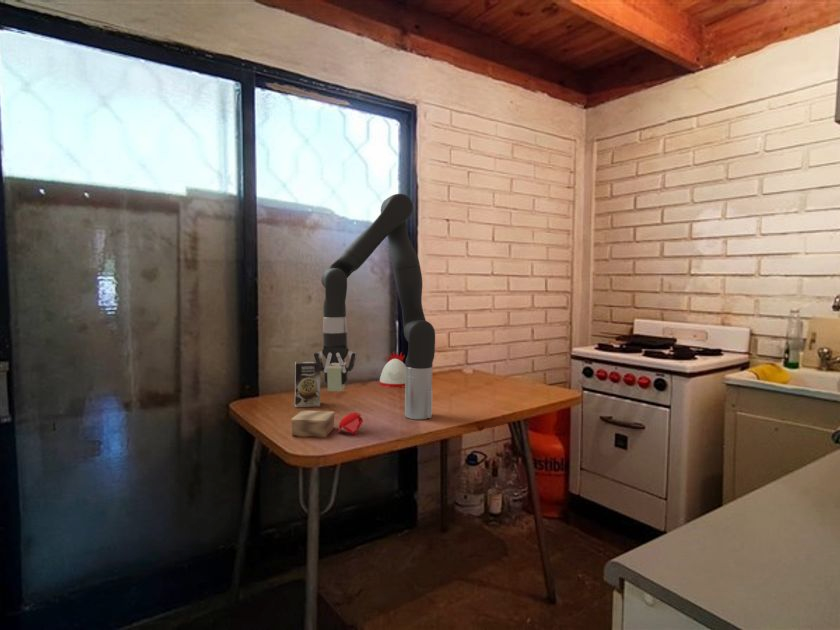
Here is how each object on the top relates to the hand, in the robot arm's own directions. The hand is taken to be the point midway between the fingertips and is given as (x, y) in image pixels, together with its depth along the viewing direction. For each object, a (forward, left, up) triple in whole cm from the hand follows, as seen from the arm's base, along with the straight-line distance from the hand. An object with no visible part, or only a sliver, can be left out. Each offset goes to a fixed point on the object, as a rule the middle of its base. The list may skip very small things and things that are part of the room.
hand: (336, 383), depth 159 cm
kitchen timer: (-11, -65, -13) cm, 67 cm away
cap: (-7, +10, -13) cm, 18 cm away
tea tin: (0, 0, -2) cm, 2 cm away
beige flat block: (+4, +10, -13) cm, 17 cm away
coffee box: (+16, -22, -13) cm, 30 cm away
